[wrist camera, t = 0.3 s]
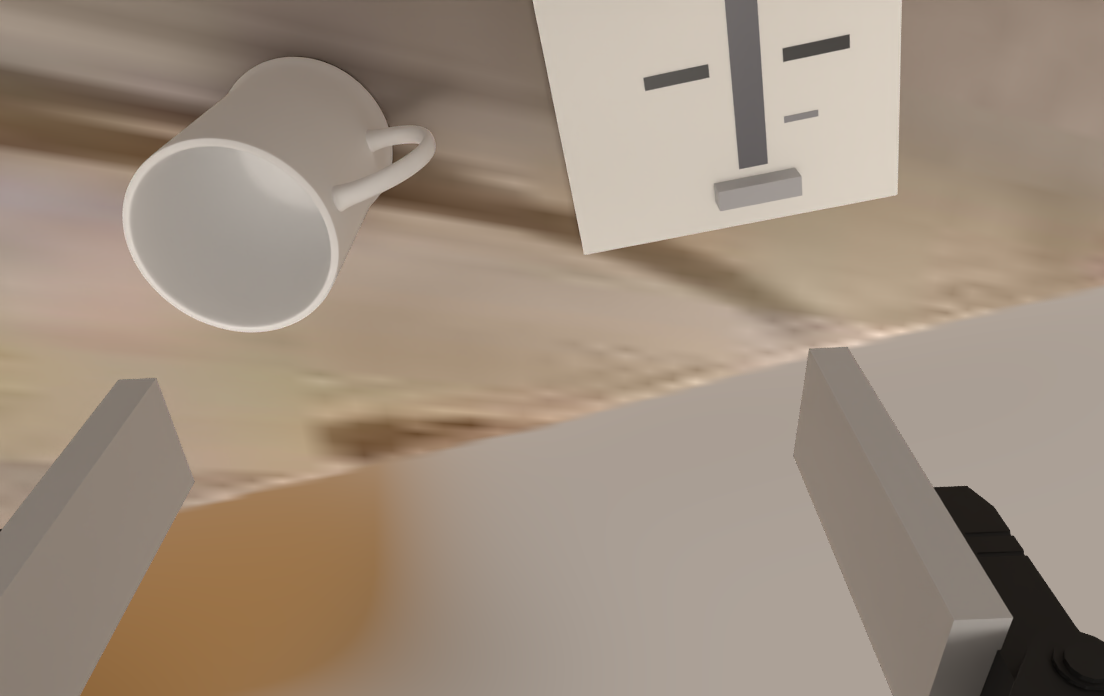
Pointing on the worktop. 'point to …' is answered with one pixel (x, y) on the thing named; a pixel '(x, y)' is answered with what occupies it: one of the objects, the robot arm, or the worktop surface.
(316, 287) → the mug
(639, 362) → the worktop surface
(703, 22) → the console
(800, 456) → the robot arm
